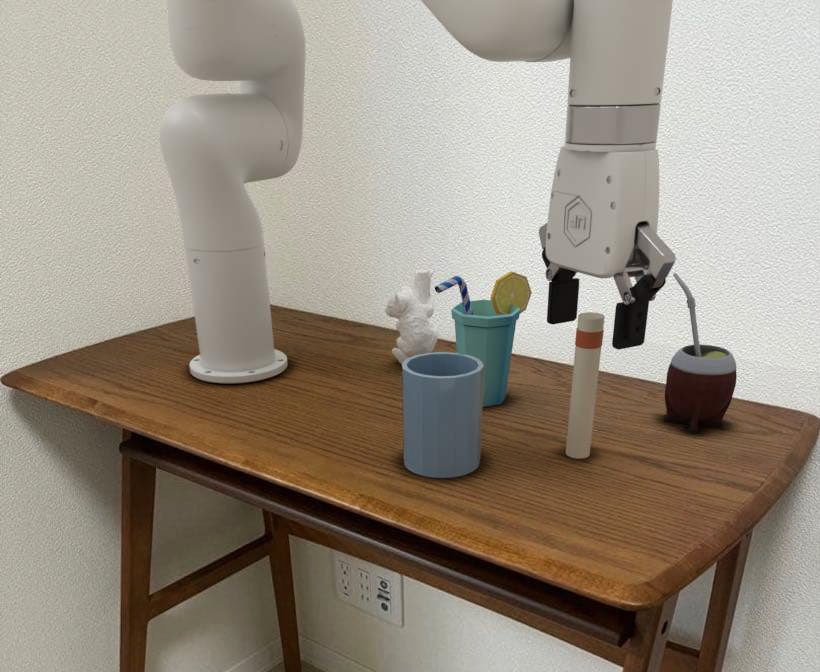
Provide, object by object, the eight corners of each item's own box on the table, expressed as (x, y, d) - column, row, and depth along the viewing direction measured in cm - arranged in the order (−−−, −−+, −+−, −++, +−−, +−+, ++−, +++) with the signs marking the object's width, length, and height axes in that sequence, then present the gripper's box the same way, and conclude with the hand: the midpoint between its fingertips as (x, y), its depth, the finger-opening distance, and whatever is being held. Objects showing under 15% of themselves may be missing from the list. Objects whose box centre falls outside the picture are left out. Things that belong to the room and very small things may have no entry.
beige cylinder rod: (560, 451, 83) (572, 314, 76) (579, 447, 84) (593, 310, 77) (575, 460, 82) (589, 320, 74) (595, 455, 82) (610, 316, 75)
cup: (461, 425, 90) (464, 286, 82) (412, 407, 95) (410, 274, 87) (540, 393, 98) (550, 264, 91) (491, 378, 103) (496, 255, 95)
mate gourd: (727, 438, 86) (756, 293, 78) (650, 430, 88) (671, 288, 80) (725, 413, 92) (752, 276, 85) (653, 406, 94) (673, 272, 87)
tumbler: (390, 455, 83) (388, 359, 78) (455, 441, 86) (457, 347, 81) (426, 484, 77) (426, 382, 72) (494, 468, 80) (498, 369, 75)
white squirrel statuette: (415, 352, 113) (414, 262, 107) (455, 361, 109) (457, 268, 103) (376, 369, 107) (373, 274, 101) (417, 378, 103) (417, 281, 97)
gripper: (515, 127, 73) (508, 319, 82) (647, 137, 60) (622, 364, 68) (582, 124, 76) (569, 309, 85) (723, 132, 63) (690, 350, 71)
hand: (593, 333), depth 77 cm, fingers open, 9 cm apart
